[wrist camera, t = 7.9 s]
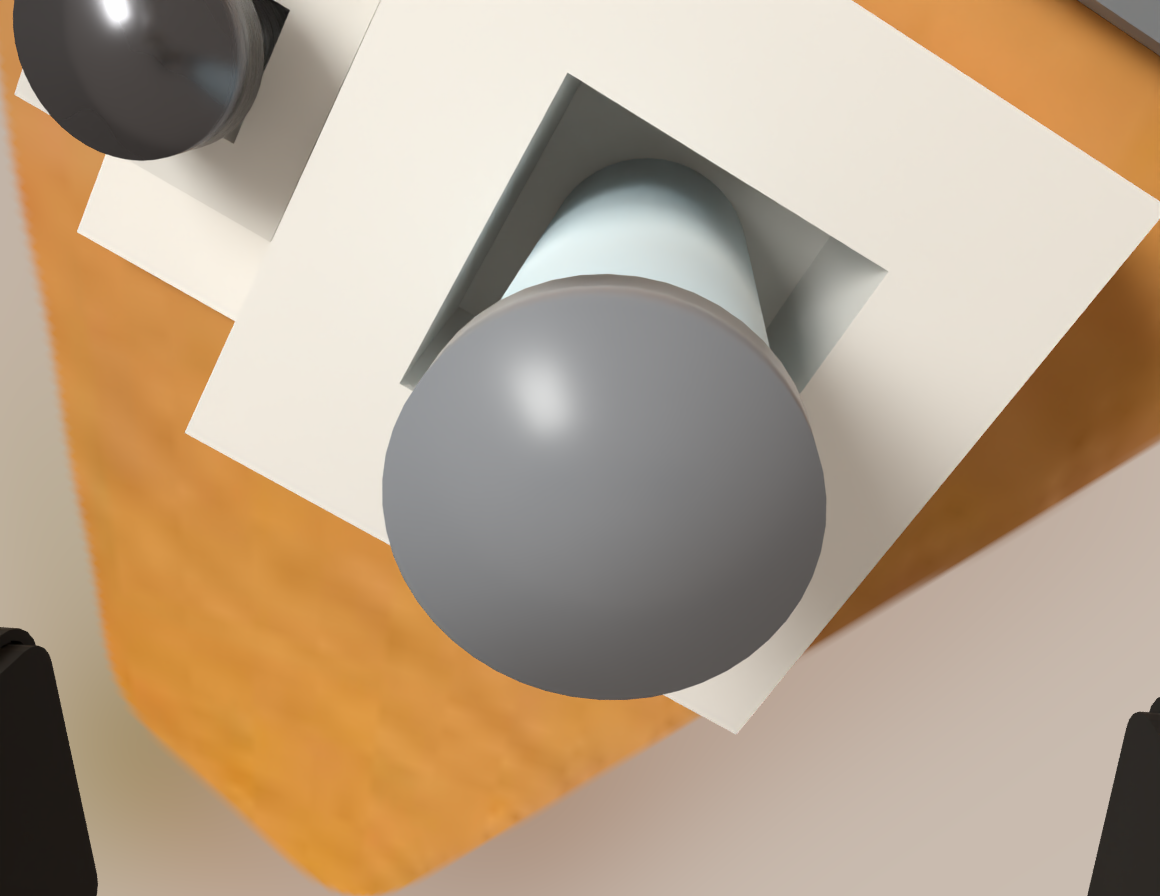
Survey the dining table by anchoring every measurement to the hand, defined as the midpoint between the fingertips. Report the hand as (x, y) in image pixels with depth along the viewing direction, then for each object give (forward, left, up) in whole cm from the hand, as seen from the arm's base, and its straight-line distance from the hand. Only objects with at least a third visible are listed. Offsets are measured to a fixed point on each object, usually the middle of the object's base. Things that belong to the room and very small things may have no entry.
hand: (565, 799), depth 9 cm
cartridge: (0, 0, -19) cm, 19 cm away
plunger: (-11, 0, -18) cm, 21 cm away
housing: (-4, 0, -20) cm, 20 cm away
